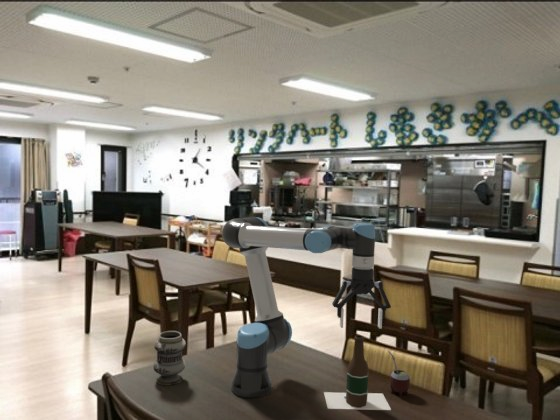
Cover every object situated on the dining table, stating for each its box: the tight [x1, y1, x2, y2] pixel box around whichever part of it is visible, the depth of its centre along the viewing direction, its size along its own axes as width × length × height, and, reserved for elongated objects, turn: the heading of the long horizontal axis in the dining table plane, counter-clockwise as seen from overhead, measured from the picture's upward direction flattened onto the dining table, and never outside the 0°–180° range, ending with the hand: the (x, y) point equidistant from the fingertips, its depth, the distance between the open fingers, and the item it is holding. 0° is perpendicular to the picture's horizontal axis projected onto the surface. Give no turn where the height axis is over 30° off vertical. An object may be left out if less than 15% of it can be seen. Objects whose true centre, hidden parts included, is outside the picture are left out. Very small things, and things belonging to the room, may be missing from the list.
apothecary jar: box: [152, 330, 187, 386], centre depth 175 cm, size 12×12×18 cm
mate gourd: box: [387, 349, 411, 398], centre depth 170 cm, size 8×8×15 cm
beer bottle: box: [345, 335, 369, 407], centre depth 161 cm, size 8×8×24 cm
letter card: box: [323, 391, 392, 411], centre depth 163 cm, size 22×12×1 cm, turn 91°
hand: (360, 327), depth 160 cm, fingers open, 13 cm apart
